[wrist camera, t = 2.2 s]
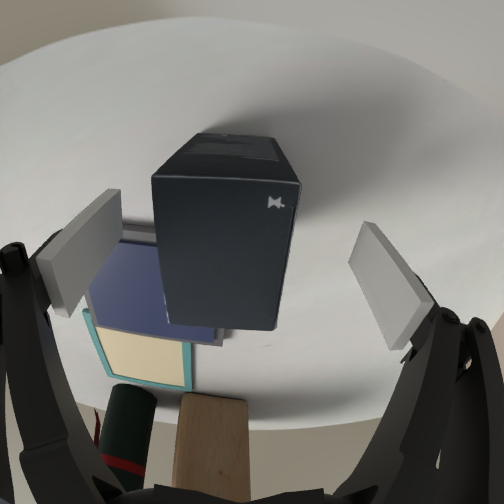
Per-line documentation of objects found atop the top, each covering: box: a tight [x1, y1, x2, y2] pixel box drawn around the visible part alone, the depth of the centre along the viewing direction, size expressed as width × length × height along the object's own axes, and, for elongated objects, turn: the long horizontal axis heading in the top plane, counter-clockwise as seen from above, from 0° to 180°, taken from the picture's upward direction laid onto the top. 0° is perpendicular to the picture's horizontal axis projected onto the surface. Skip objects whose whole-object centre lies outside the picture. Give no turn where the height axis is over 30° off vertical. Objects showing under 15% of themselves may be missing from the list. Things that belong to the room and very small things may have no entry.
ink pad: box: [84, 224, 224, 347], centre depth 24 cm, size 15×13×1 cm
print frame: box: [82, 309, 192, 392], centre depth 31 cm, size 13×14×1 cm
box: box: [151, 133, 302, 331], centre depth 16 cm, size 8×6×11 cm
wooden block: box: [172, 393, 251, 503], centre depth 30 cm, size 10×10×20 cm
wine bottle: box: [94, 384, 157, 493], centre depth 25 cm, size 8×10×30 cm
